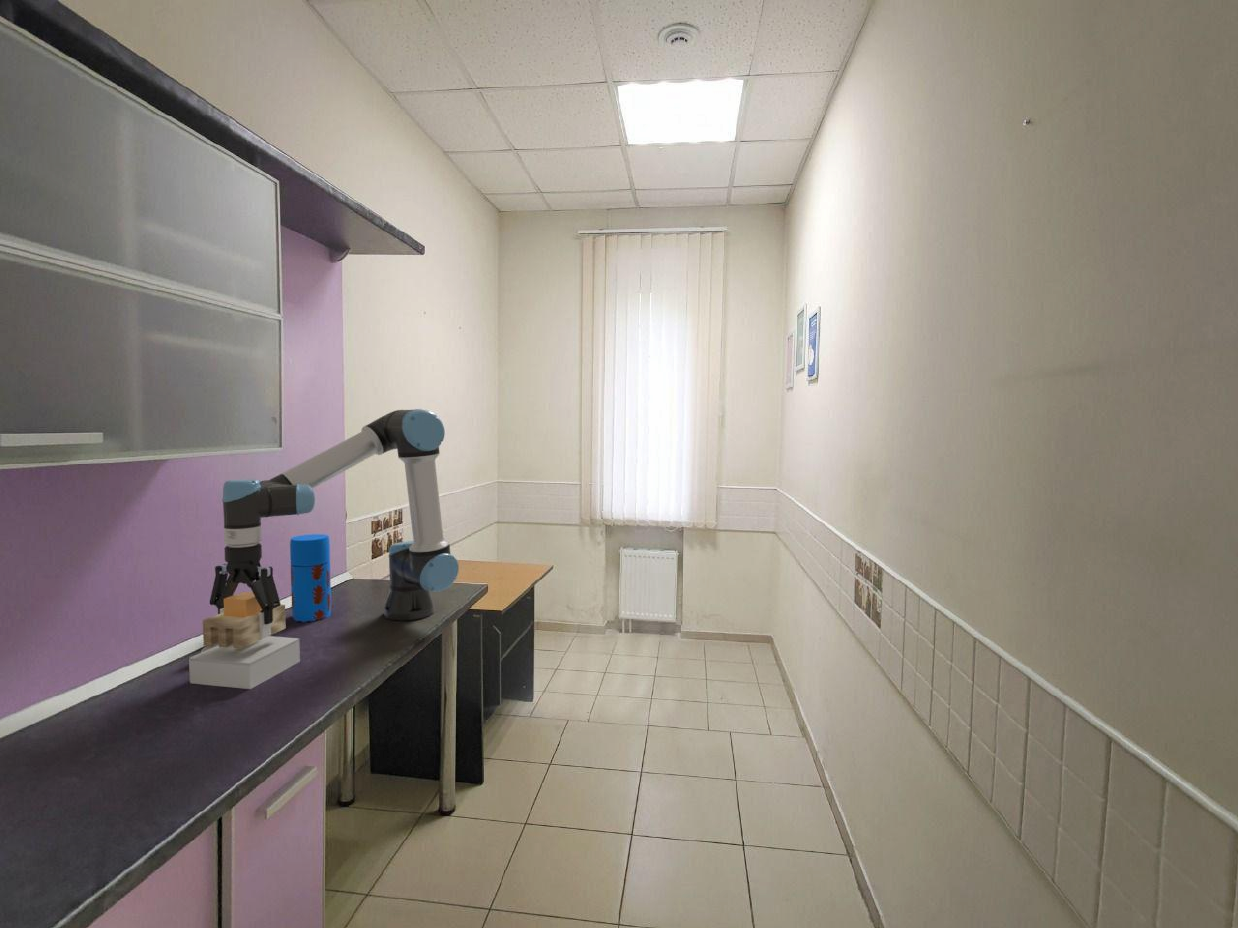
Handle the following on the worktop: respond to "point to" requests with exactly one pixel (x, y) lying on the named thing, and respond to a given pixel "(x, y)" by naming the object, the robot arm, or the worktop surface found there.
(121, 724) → the worktop surface
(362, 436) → the robot arm
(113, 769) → the worktop surface
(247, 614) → the orange square block
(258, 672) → the dock
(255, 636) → the pallet
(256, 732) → the worktop surface
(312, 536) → the thermos
